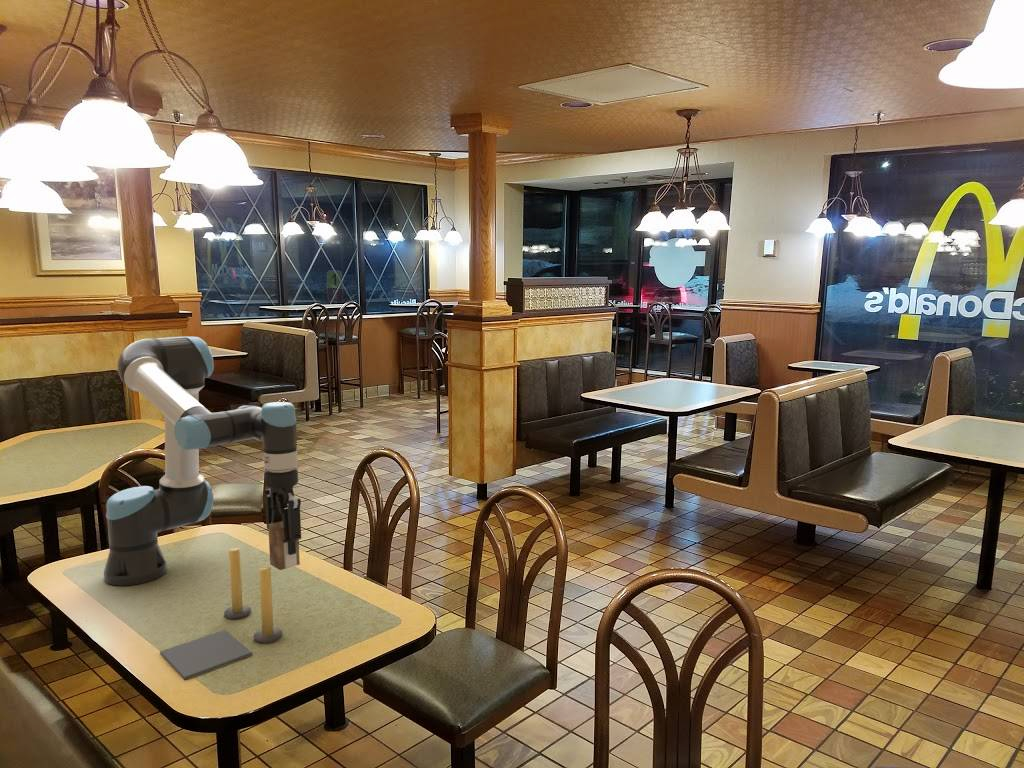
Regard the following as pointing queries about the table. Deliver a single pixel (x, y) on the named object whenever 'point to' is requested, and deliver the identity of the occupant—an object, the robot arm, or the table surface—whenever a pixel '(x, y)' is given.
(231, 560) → the gate
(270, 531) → the block
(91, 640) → the table surface
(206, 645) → the mat
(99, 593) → the table surface
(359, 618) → the table surface
